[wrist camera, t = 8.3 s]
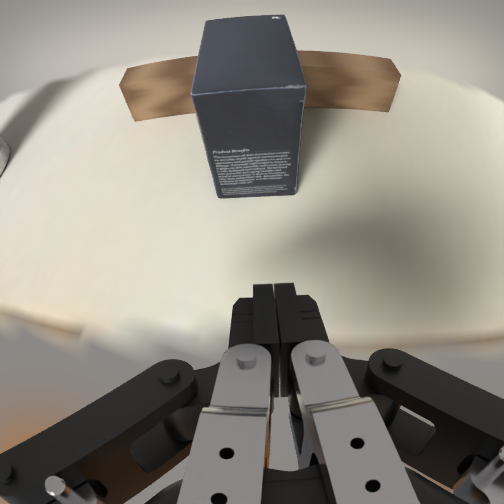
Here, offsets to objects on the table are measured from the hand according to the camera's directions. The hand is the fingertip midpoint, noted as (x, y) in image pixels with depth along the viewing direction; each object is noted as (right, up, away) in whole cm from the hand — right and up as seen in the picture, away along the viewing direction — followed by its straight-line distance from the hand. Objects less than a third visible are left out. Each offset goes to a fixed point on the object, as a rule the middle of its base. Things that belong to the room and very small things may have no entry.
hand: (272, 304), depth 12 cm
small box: (-1, +11, +14) cm, 18 cm away
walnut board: (0, +17, +16) cm, 24 cm away
